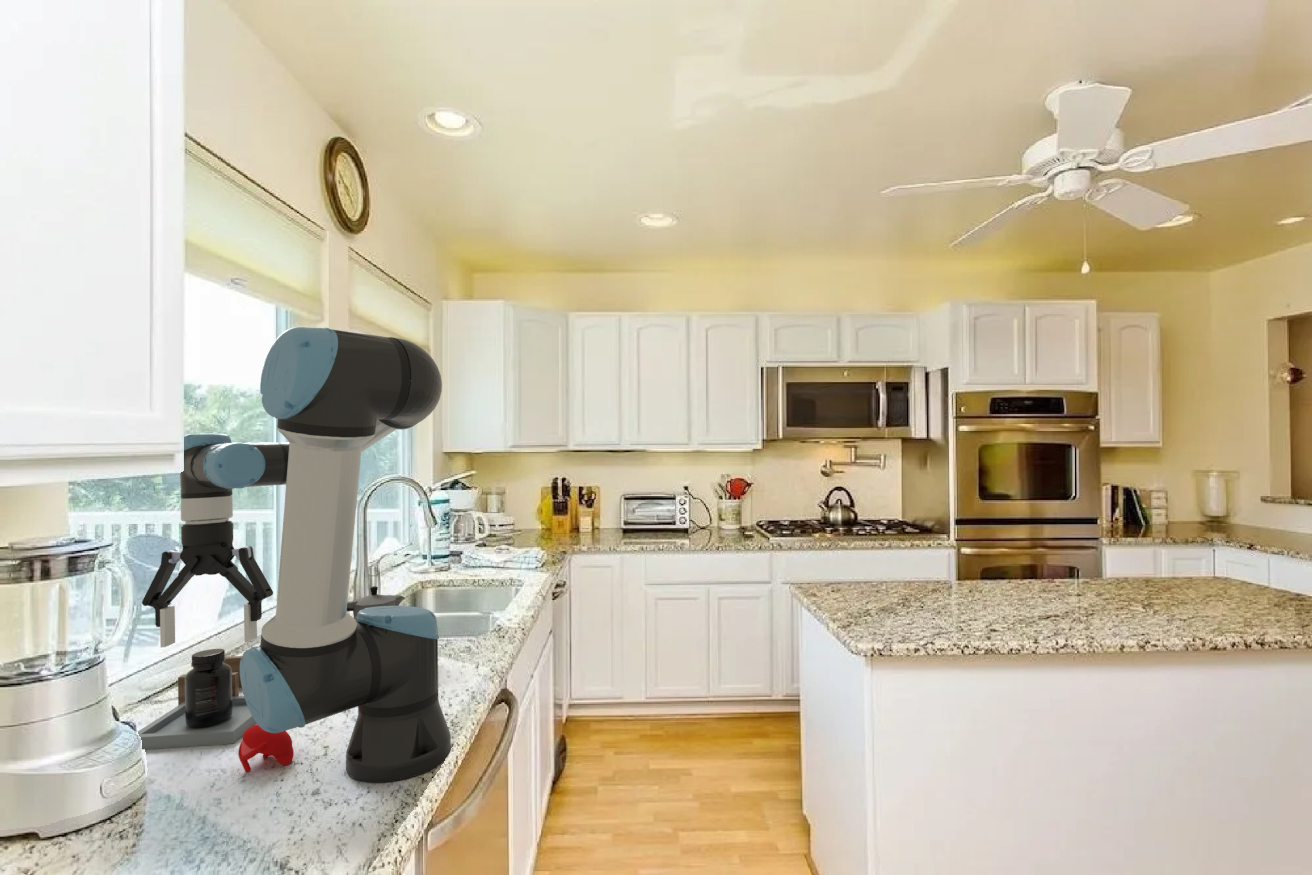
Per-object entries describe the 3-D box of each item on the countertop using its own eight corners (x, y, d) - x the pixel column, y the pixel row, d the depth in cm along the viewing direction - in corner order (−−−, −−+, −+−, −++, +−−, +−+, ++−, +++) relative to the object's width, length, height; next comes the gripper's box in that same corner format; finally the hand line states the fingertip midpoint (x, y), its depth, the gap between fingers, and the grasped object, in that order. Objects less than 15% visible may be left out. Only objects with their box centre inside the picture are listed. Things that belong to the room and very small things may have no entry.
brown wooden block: (235, 706, 120) (235, 674, 120) (178, 709, 119) (178, 677, 119) (265, 683, 132) (265, 654, 132) (213, 686, 130) (213, 657, 130)
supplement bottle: (241, 713, 115) (241, 646, 115) (212, 729, 108) (211, 658, 108) (206, 712, 116) (206, 646, 116) (174, 729, 109) (174, 658, 109)
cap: (221, 755, 94) (252, 736, 94) (243, 725, 100) (272, 706, 99) (260, 788, 97) (291, 769, 96) (279, 757, 102) (308, 739, 102)
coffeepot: (396, 656, 148) (395, 578, 148) (413, 666, 141) (412, 584, 141) (324, 673, 137) (323, 590, 137) (339, 685, 130) (338, 597, 130)
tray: (233, 743, 105) (232, 731, 105) (127, 750, 103) (127, 737, 103) (279, 704, 121) (279, 693, 121) (188, 709, 119) (188, 698, 119)
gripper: (291, 516, 117) (294, 631, 117) (145, 522, 115) (147, 641, 114) (272, 520, 110) (274, 643, 109) (115, 527, 107) (116, 653, 107)
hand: (209, 642), depth 112 cm, fingers open, 13 cm apart
